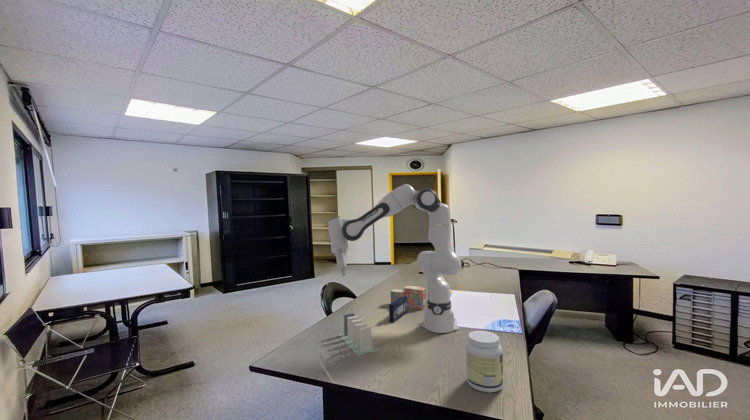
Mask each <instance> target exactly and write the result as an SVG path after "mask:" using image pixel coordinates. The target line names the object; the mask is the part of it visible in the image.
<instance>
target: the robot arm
mask: <svg viewBox="0 0 750 420" xmlns="http://www.w3.org/2000/svg"><path fill="white" fill-rule="evenodd" d="M409 206H412V207H414V208H415V209H416V210H418V211H421V212H427V215H428V219H429V220H428V237H427V238H428V240H429V242H430V243H431V245H433V247H434V250H423V251H421V252H419V253H418V255H417V257H416V264H417V267H418V268H419V269H420V270H421V271H422V274H423V275H424V278H425V280H426V281H425V282H426V286H427V299H426V307H427V308H426V309H424V316H423V319H424V321H423V322H422V323H421V325H420V327H422V328H425V330H427V331H429V332H432V333H437V334H446V333H451V332H454V331H459V325H458V322H457V319H456V318H455V313H454V310H452V302H451V299H450V298H451V290H450V289H451V287H450V283H448V281H446V279H445V278H444V276H447V277H448V276H457V275H458V274H459V273H460V272H461V269H462V260H461V259H460V257H459V256H458V255H457V254H456V252H455V250H454V248H453V245H452V239H451V236H452V234H451V231H452V230H451V229H452V228H451V227H452V219H451V217H452V215H451V210H450V207H449V205H447V204H446V203H443V202H441V200H440V198H439V197H438V194H437V192H436V191H435V190H433V189H431V188H427V187H426V188H425V187H424V188H422V189H420V190H416V189H415V188H414V187H413V186H412V185H411V184H407V183H405V184H402V185H400V186H398V187H396V188H394V189H393V190H391V191H390V192H388V193H386V195H385V196H383V197H382V198H381V200H379V202H377V204H376V205H375V206H374V207H372V208H371V209H370V210H368V211H367V212H366V213H364V214H362V215H361V216H360V217H358V218H354V219H349V218H345V217H343V216H336V217H333V218H331V219H330V220H329V221H328V235H329V239H330V250H331V254H334V256H335V257H336V258H335V259H336V267H337V269H340V273H341V276H342V277H345V276H346V275H347V274H346V272H347V271H346V266H347V264H348V252H350V249H349V248H350V247H349V242H348V241H350V242H355V241H358V240H360V238H361V237H363V235H364V233H365V231H366V230H367V229H368V228H369V227H371V226H372V225H373V224H375V223H377V222H378V221H379V220H381V219H385V218H388V217H392V216H394V215H396V214H398V213H400V212H401V211H402V210H404V209H405V208H407V207H409Z"/></svg>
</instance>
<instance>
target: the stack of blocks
mask: <svg viewBox="0 0 750 420" xmlns="http://www.w3.org/2000/svg"><path fill="white" fill-rule="evenodd" d="M402 296H407V309H413V310H420V311H424V310H425V308H426V307H427V288H426V287H424V286H423V287H421V286H416V285H415V286H414V285H406V286H405V287H403V289H398V288H393V289H392V290H390V304H391V303H393V302H394V301H396V300H397V299H399V298H401V297H402Z"/></svg>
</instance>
